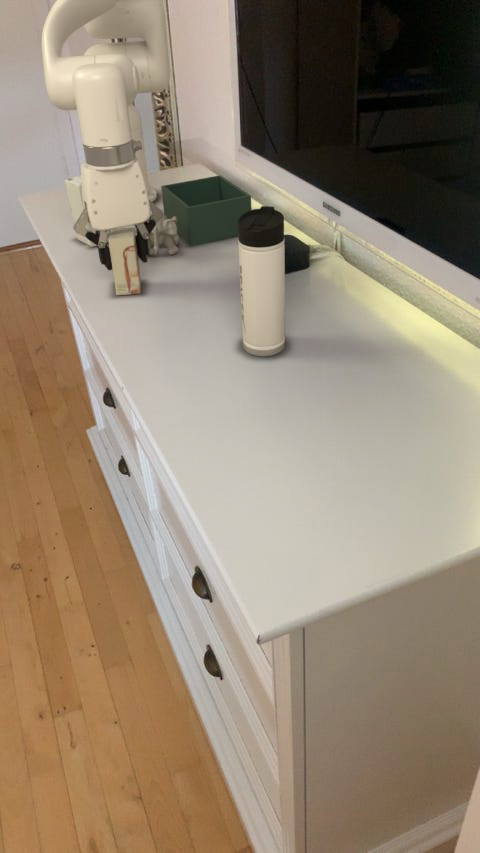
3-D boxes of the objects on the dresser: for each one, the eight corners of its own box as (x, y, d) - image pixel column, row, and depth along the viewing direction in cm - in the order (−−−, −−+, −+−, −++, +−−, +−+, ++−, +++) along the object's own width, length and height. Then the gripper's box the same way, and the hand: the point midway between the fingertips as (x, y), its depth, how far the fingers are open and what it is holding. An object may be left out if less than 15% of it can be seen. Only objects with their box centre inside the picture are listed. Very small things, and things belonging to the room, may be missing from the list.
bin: (164, 221, 148) (161, 185, 143) (222, 210, 152) (220, 175, 147) (191, 246, 136) (187, 208, 132) (252, 233, 140) (251, 195, 136)
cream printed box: (141, 294, 120) (133, 237, 114) (115, 296, 120) (106, 239, 114) (142, 281, 124) (135, 226, 118) (117, 283, 124) (109, 228, 118)
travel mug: (290, 337, 106) (290, 207, 94) (278, 359, 101) (276, 225, 89) (251, 332, 108) (246, 203, 96) (237, 354, 103) (230, 221, 91)
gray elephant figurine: (176, 240, 139) (172, 201, 134) (195, 262, 130) (192, 222, 125) (131, 248, 137) (125, 209, 132) (147, 271, 128) (142, 231, 123)
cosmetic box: (110, 242, 140) (100, 180, 132) (90, 248, 138) (79, 186, 130) (94, 233, 144) (84, 173, 136) (75, 239, 141) (63, 179, 134)
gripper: (153, 139, 114) (165, 246, 125) (49, 156, 109) (70, 266, 119) (169, 150, 108) (180, 261, 119) (60, 168, 103) (81, 282, 114)
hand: (125, 262), depth 119 cm, fingers closed on cream printed box, 5 cm apart
